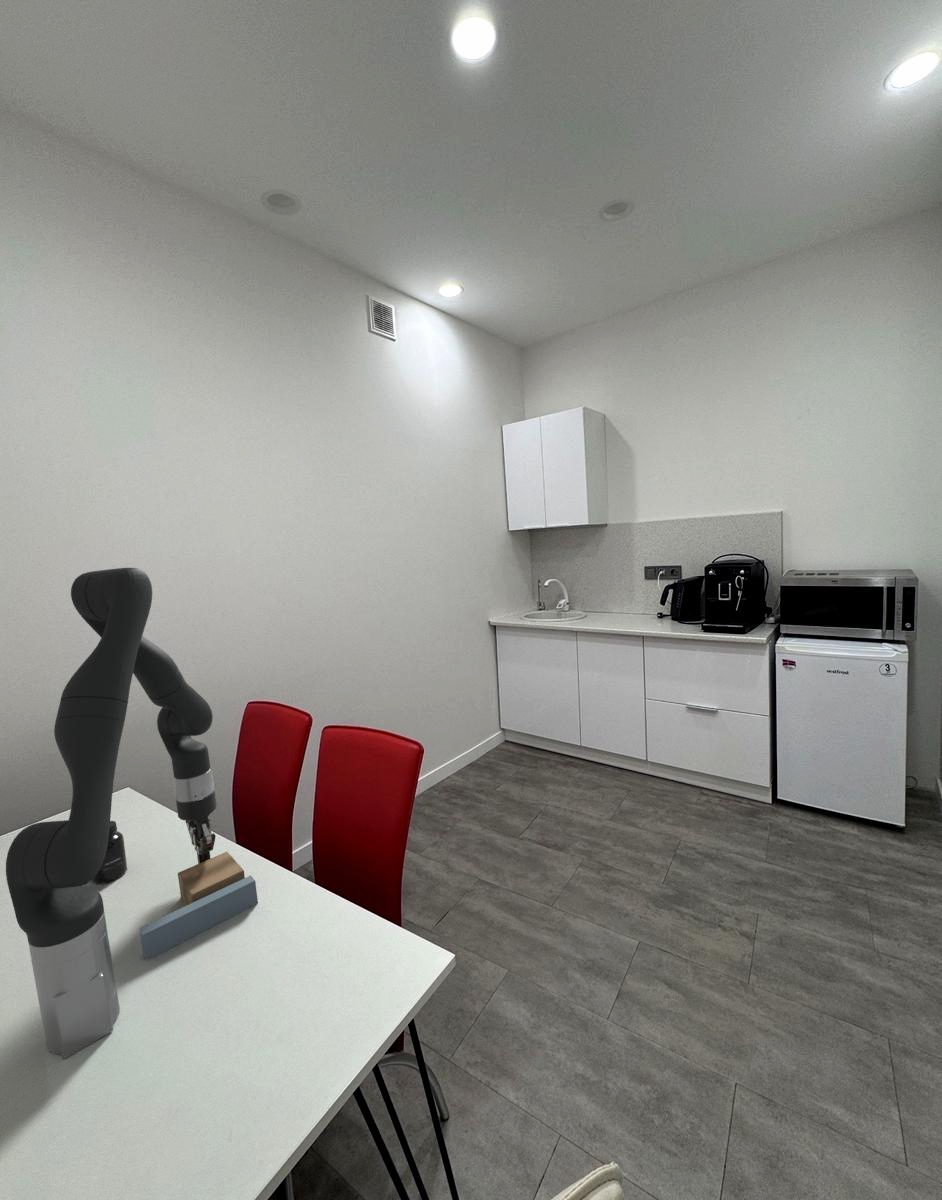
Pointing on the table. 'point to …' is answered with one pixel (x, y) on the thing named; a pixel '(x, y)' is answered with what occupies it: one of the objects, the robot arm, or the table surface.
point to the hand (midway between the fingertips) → (205, 866)
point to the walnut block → (208, 877)
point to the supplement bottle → (112, 858)
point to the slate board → (197, 917)
